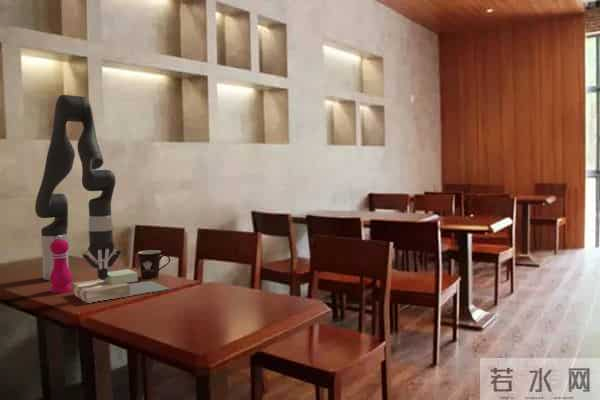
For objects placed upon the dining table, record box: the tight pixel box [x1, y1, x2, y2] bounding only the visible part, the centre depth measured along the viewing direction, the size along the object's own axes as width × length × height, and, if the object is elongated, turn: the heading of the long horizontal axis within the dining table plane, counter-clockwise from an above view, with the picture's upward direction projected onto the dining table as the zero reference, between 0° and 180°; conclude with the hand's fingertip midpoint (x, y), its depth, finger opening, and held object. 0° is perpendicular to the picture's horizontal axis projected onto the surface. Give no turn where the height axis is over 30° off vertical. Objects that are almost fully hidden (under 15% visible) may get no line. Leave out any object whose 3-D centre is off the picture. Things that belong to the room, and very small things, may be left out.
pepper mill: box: [49, 235, 73, 294], centre depth 191 cm, size 7×7×20 cm
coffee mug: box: [137, 249, 171, 280], centre depth 212 cm, size 12×9×10 cm
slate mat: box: [128, 280, 170, 297], centre depth 193 cm, size 16×14×1 cm
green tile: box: [104, 268, 139, 285], centre depth 188 cm, size 8×9×3 cm
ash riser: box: [72, 278, 130, 304], centre depth 185 cm, size 16×14×4 cm
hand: (102, 279), depth 185 cm, fingers closed
